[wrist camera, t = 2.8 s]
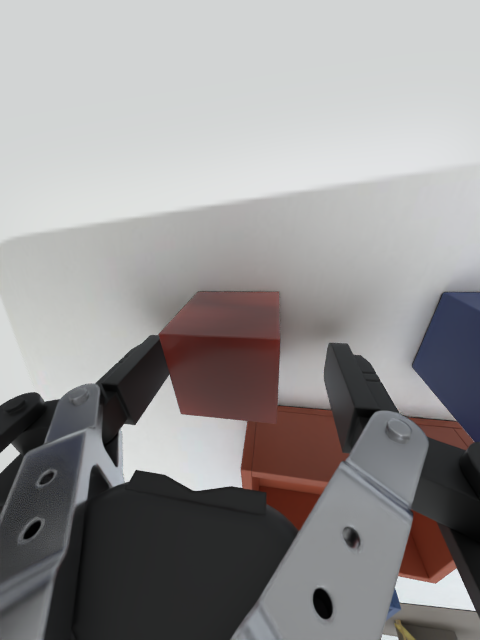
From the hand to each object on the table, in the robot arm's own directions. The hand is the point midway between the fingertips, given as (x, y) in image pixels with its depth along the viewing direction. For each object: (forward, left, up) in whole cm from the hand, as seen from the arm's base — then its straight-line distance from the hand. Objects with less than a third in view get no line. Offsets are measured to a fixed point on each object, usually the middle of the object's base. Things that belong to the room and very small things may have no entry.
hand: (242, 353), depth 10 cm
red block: (-1, 0, -2) cm, 2 cm away
